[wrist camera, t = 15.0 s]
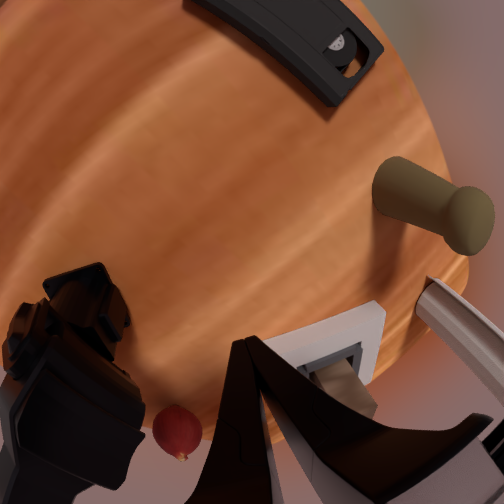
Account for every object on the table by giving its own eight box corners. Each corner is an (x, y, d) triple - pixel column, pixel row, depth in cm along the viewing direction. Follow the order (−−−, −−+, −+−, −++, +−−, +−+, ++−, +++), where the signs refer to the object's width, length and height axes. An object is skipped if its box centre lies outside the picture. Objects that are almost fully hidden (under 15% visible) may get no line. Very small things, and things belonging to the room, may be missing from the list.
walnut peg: (306, 374, 33) (339, 436, 24) (305, 355, 31) (343, 422, 22) (334, 363, 33) (371, 421, 25) (335, 344, 31) (377, 405, 23)
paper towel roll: (432, 311, 36) (520, 401, 17) (408, 318, 34) (502, 422, 15) (450, 270, 33) (552, 357, 14) (427, 273, 31) (541, 376, 12)
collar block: (273, 406, 34) (280, 422, 32) (258, 341, 28) (267, 362, 25) (362, 370, 36) (372, 384, 34) (374, 299, 30) (388, 314, 27)
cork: (415, 207, 26) (496, 252, 16) (373, 223, 25) (458, 280, 16) (413, 151, 23) (506, 182, 13) (368, 162, 22) (470, 200, 13)
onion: (184, 420, 32) (193, 471, 25) (144, 411, 29) (147, 465, 22) (205, 399, 30) (217, 455, 23) (162, 388, 28) (167, 449, 21)
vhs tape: (372, 51, 18) (386, 49, 16) (324, 107, 20) (336, 106, 18) (249, -51, 12) (256, -62, 10) (182, -2, 13) (183, -13, 11)
